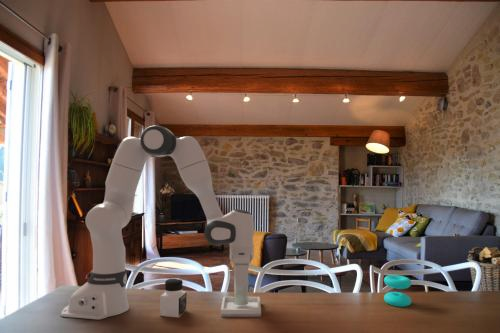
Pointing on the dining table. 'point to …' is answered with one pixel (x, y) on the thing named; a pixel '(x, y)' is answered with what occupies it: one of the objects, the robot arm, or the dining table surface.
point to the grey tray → (241, 308)
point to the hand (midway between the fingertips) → (241, 291)
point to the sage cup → (240, 298)
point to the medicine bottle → (173, 299)
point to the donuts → (397, 297)
